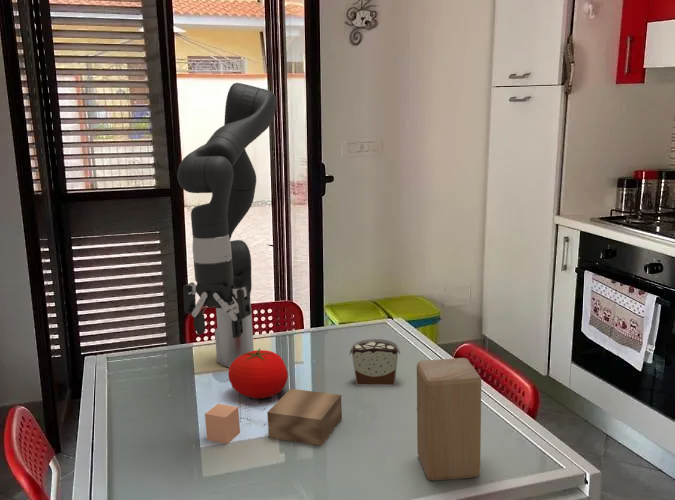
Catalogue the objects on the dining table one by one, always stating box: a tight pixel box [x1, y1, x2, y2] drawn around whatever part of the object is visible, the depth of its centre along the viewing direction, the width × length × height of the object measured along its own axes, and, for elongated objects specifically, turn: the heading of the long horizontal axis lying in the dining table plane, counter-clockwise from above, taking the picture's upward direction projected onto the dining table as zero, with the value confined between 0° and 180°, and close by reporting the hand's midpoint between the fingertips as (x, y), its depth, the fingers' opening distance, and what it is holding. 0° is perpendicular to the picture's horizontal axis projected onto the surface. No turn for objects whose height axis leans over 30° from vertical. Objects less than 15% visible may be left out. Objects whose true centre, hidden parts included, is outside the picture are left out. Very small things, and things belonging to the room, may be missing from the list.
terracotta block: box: [204, 403, 241, 445], centre depth 138 cm, size 5×5×6 cm
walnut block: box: [266, 388, 343, 446], centre depth 141 cm, size 12×12×6 cm
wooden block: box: [416, 357, 482, 482], centre depth 122 cm, size 10×10×20 cm
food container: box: [349, 338, 401, 387], centre depth 163 cm, size 12×6×10 cm, turn 84°
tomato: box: [228, 348, 289, 400], centre depth 158 cm, size 14×13×10 cm
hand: (219, 335), depth 134 cm, fingers open, 8 cm apart
